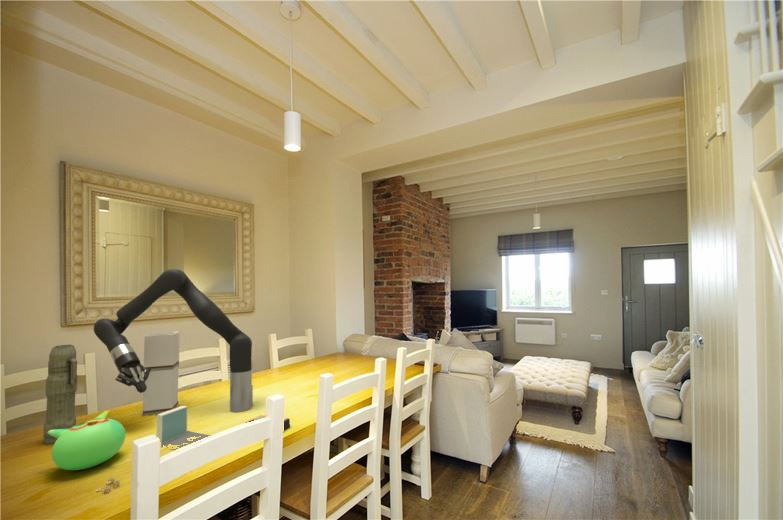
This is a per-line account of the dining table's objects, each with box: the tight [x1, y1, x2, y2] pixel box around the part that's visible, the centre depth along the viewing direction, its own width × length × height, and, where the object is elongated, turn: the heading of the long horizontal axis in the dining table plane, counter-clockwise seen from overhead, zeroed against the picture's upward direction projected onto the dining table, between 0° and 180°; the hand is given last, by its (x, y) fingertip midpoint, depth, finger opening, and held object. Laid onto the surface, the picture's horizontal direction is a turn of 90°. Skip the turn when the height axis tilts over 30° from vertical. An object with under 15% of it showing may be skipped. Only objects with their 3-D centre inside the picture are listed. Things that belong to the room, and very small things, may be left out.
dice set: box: [95, 477, 121, 495], centre depth 99 cm, size 5×5×2 cm
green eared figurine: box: [47, 410, 126, 471], centre depth 113 cm, size 18×17×15 cm
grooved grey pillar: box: [142, 331, 181, 417], centre depth 163 cm, size 11×11×35 cm
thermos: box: [42, 344, 78, 446], centre depth 134 cm, size 9×12×35 cm
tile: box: [156, 405, 188, 444], centre depth 131 cm, size 3×10×10 cm, turn 157°
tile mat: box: [160, 430, 211, 451], centre depth 129 cm, size 16×13×1 cm
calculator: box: [245, 414, 291, 432], centre depth 137 cm, size 11×4×15 cm
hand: (143, 391), depth 138 cm, fingers closed
